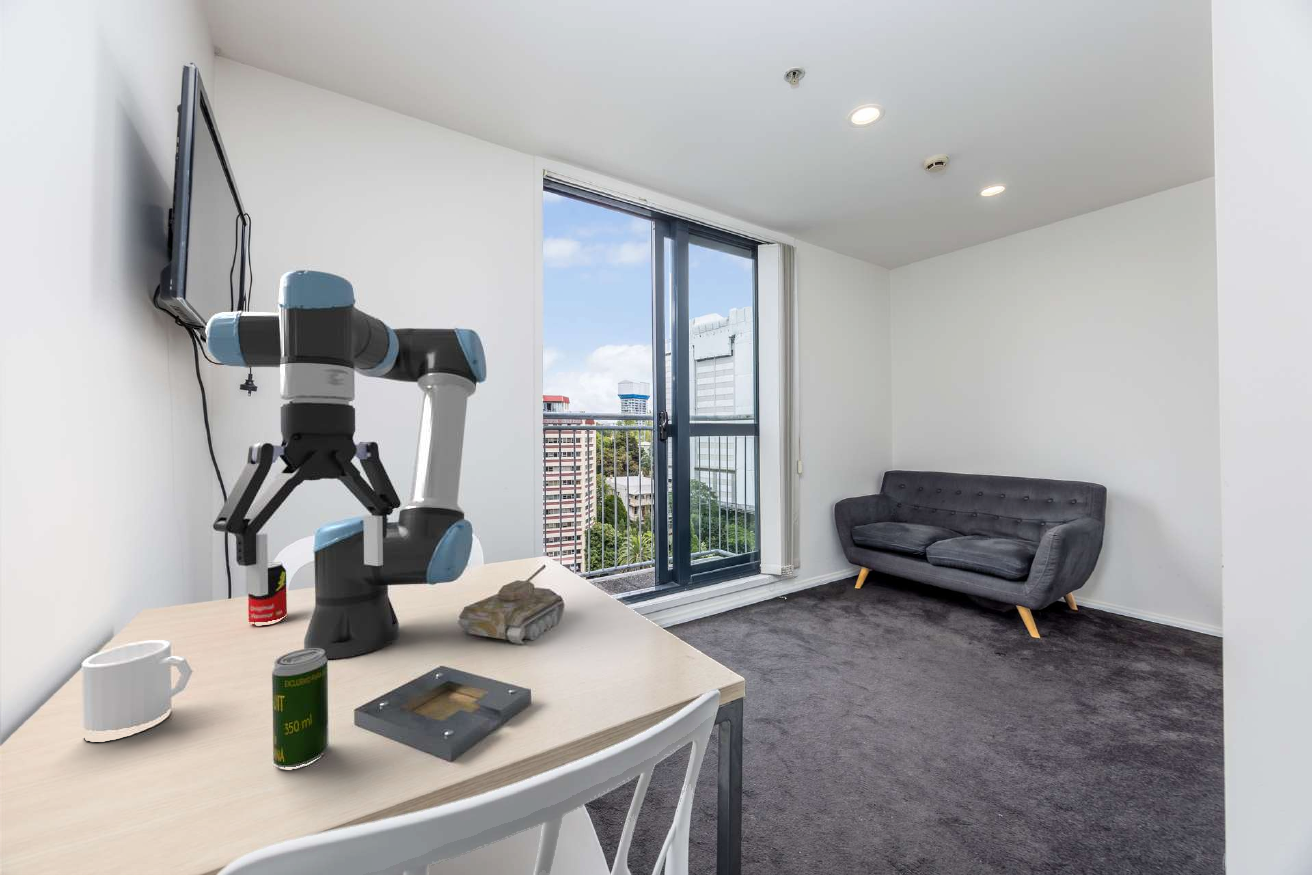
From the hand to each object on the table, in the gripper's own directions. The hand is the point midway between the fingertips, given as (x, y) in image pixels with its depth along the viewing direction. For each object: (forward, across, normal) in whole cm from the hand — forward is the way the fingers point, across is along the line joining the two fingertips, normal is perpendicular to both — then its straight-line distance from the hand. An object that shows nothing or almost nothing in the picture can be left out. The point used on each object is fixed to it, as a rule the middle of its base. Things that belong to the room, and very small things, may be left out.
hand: (321, 577), depth 60 cm
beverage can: (+21, +23, +56) cm, 64 cm away
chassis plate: (+21, +12, -7) cm, 25 cm away
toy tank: (+21, +42, +6) cm, 48 cm away
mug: (+21, -6, +28) cm, 36 cm away
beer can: (+21, -2, +1) cm, 21 cm away
